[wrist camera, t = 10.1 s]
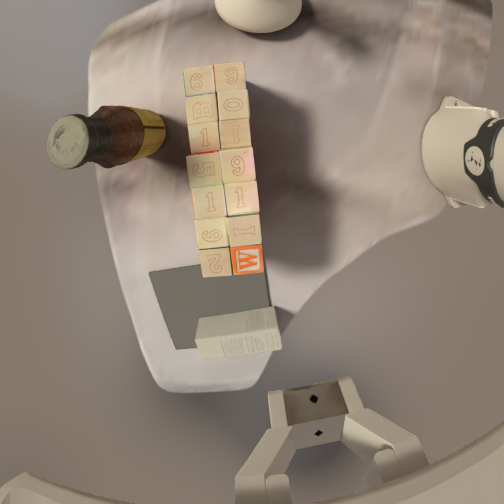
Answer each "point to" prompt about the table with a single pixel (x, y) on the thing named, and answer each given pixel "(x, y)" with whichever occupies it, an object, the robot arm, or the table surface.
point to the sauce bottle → (105, 137)
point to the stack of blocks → (222, 170)
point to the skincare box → (238, 334)
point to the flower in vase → (259, 14)
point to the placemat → (203, 298)
